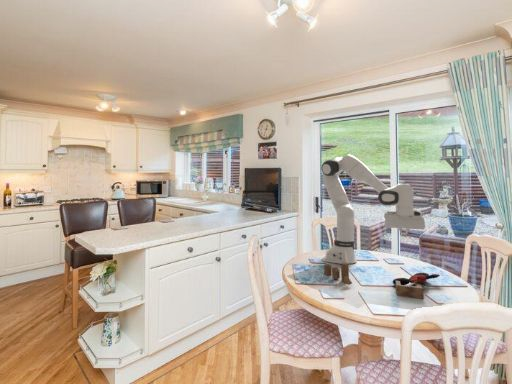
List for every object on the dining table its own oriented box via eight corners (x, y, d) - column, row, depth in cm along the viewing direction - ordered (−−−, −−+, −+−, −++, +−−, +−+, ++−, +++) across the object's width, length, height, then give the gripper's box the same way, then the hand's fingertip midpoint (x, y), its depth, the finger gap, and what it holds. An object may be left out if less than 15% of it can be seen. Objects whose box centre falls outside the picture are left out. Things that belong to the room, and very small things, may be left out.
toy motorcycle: (391, 288, 145) (418, 283, 132) (388, 278, 147) (413, 272, 135) (421, 282, 156) (448, 277, 144) (417, 273, 158) (443, 267, 146)
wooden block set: (322, 278, 158) (321, 261, 158) (331, 274, 164) (331, 258, 163) (349, 288, 144) (348, 269, 143) (358, 283, 149) (357, 265, 148)
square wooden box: (397, 295, 132) (397, 285, 132) (395, 288, 142) (395, 278, 142) (423, 299, 128) (423, 288, 128) (419, 291, 138) (419, 281, 138)
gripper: (384, 211, 157) (384, 235, 157) (425, 213, 149) (425, 238, 149) (384, 210, 163) (383, 233, 163) (423, 212, 154) (423, 236, 155)
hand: (403, 236), depth 156 cm, fingers closed
